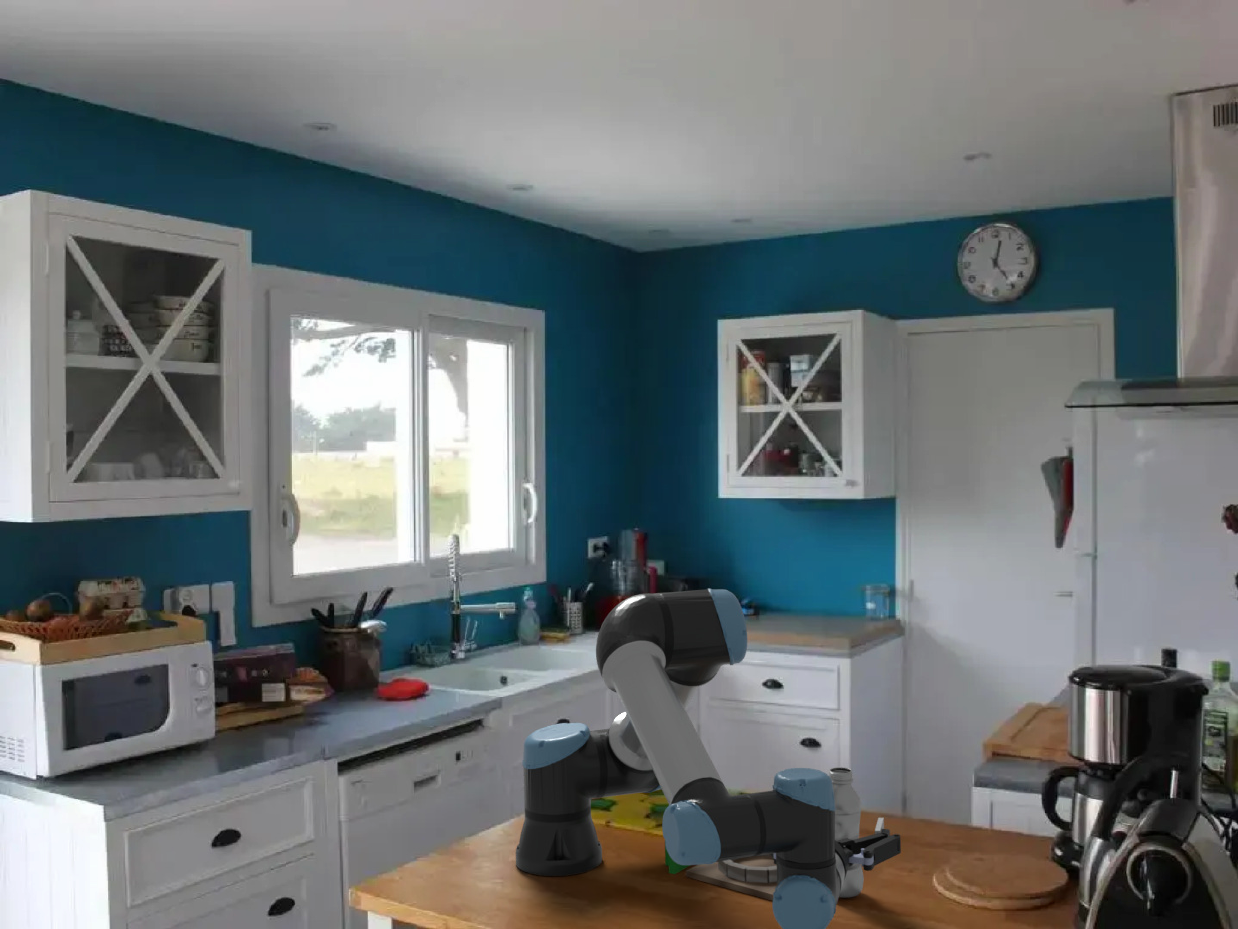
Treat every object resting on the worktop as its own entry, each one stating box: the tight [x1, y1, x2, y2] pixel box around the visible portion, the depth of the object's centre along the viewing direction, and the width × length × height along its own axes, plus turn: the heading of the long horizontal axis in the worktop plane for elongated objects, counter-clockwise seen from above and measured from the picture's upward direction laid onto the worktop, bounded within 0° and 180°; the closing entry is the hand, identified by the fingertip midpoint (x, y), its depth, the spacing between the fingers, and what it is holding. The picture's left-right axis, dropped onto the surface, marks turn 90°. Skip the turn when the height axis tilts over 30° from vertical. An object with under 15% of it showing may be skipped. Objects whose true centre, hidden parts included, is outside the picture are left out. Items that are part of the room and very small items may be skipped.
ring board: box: [685, 854, 777, 902], centre depth 203 cm, size 18×18×3 cm
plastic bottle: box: [828, 766, 865, 899], centre depth 193 cm, size 6×7×20 cm
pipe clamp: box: [664, 845, 691, 875], centre depth 210 cm, size 11×4×5 cm, turn 145°
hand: (835, 824), depth 183 cm, fingers open, 13 cm apart
